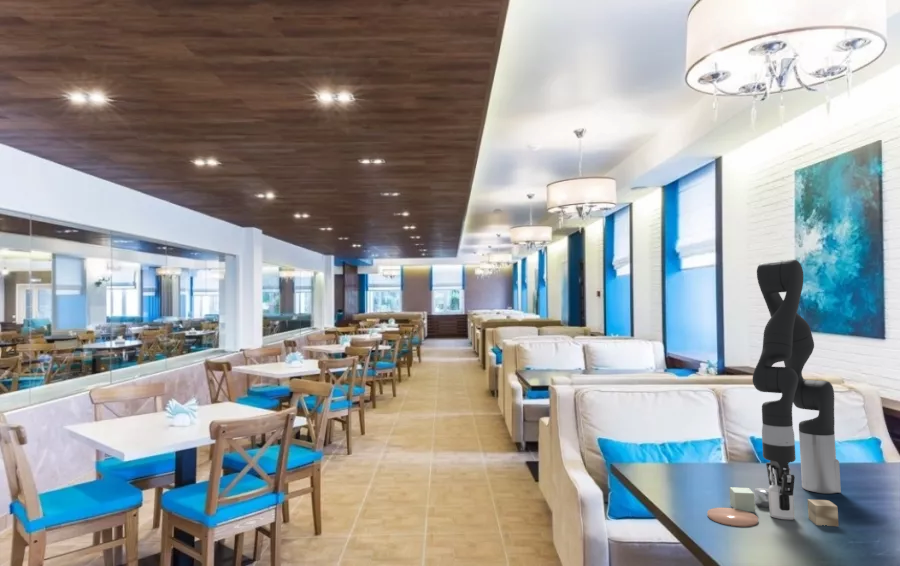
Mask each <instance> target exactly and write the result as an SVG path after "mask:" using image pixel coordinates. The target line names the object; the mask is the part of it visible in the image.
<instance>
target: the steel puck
mask: <svg viewBox="0 0 900 566" xmlns="http://www.w3.org/2000/svg"><path fill="white" fill-rule="evenodd" d="M753 493H754V496H755V506H757V507H761V508H764V509H765V508H766V509H769V488H766V487H765V488H763V487H758V488H754V491H753Z"/></svg>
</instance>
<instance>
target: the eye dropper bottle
mask: <svg viewBox="0 0 900 566" xmlns="http://www.w3.org/2000/svg"><path fill="white" fill-rule="evenodd" d="M780 483H782V482H780ZM768 489H769V508H768V509H769V516H770V517H771V518H774V519H778V520H788V521H789V520H791V521H792V520H794V519H795V517H796V516H795V499H794V495H793V496H789V503H790V510H788V511H786V510H781V509H780V506H779V493H778V486H776V484H775V485H769V486H768ZM785 490H786V488H785Z"/></svg>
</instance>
